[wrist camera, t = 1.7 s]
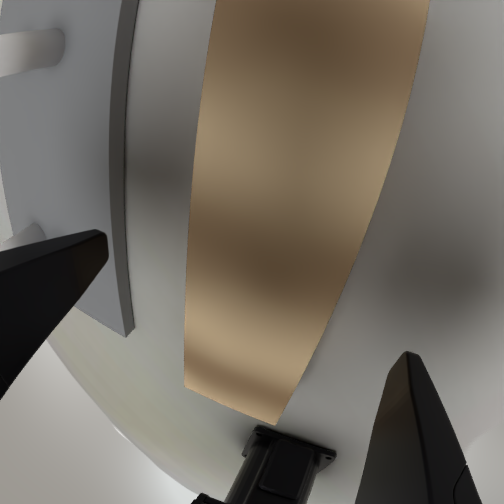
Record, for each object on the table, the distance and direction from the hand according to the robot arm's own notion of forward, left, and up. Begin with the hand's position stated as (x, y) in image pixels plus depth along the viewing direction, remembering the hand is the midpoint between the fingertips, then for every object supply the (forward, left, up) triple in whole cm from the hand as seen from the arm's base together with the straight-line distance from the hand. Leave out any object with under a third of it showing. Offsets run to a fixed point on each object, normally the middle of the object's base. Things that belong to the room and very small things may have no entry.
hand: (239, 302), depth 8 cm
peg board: (0, +14, -5) cm, 15 cm away
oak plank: (0, 0, -5) cm, 5 cm away
